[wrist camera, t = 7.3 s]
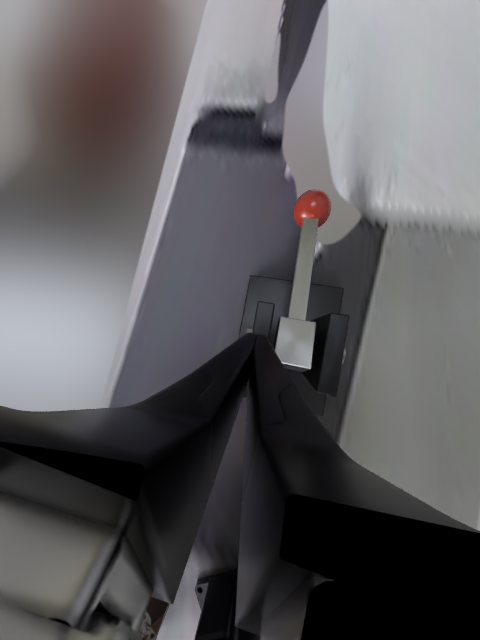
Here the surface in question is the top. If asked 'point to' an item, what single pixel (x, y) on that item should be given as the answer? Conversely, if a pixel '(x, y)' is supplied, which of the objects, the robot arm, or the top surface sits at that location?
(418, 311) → the top surface
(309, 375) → the black lever stand
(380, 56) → the top surface
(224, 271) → the top surface
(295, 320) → the lever
